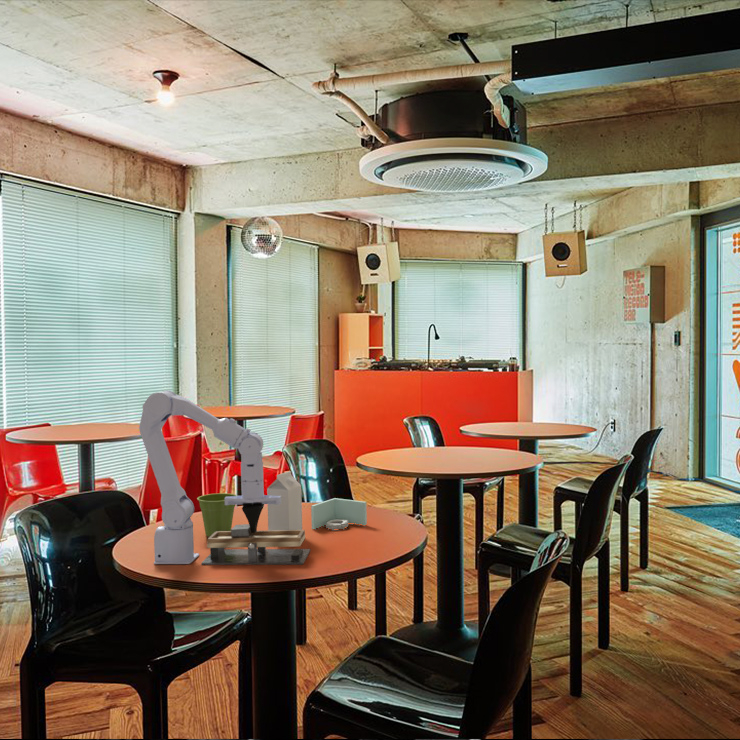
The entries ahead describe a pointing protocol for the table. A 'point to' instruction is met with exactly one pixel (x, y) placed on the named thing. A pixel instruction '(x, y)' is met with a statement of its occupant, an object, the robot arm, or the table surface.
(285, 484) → the milk carton
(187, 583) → the table surface
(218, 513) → the plant pot
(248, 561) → the beam stand
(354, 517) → the right angle wall
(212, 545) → the beam
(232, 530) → the block
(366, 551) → the table surface
